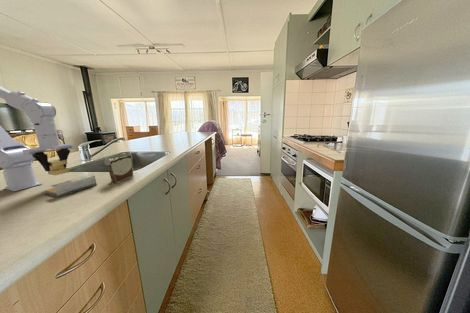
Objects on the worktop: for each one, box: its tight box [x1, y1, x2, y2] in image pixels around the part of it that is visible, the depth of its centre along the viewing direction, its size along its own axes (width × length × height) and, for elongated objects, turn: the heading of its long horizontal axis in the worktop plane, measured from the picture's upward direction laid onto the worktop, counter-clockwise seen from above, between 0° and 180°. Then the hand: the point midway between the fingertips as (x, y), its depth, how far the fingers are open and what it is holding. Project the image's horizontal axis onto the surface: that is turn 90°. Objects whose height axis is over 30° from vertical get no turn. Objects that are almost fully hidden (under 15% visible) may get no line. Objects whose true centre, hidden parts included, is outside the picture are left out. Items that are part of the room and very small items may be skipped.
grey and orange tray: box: [43, 174, 98, 198], centre depth 69 cm, size 10×12×4 cm
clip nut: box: [47, 158, 70, 176], centre depth 72 cm, size 5×4×5 cm
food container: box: [103, 153, 134, 184], centre depth 78 cm, size 12×6×10 cm, turn 168°
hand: (56, 169), depth 72 cm, fingers closed on clip nut, 4 cm apart
